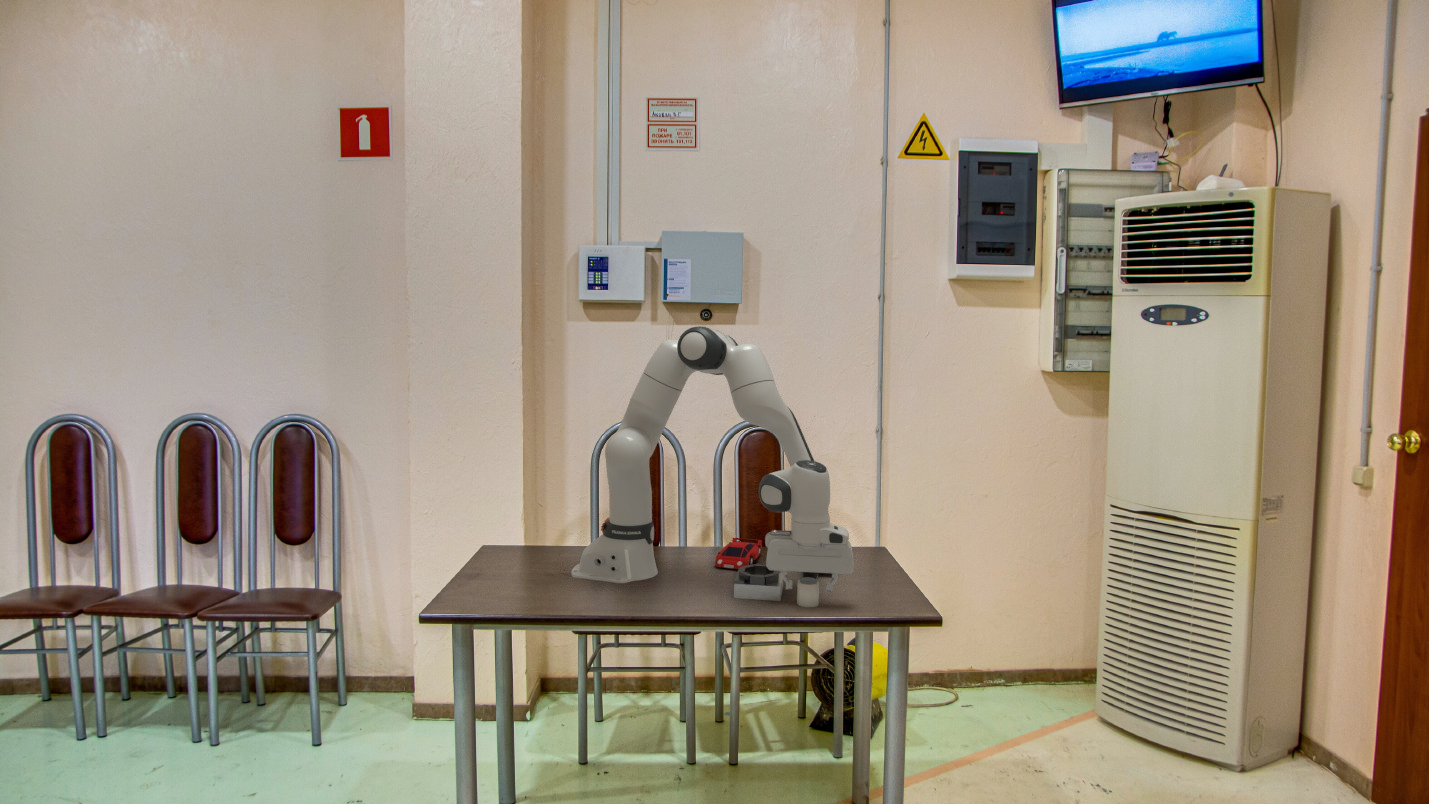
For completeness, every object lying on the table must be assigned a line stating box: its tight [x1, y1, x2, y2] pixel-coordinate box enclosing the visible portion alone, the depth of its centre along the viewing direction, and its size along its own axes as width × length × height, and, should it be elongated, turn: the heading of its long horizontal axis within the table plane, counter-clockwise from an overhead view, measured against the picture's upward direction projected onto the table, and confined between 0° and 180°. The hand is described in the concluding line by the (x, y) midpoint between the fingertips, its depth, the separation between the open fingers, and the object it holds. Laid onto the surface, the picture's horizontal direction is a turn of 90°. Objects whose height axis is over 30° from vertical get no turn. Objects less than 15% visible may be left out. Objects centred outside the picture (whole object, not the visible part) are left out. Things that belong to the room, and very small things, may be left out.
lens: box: [796, 577, 820, 608], centre depth 182 cm, size 5×5×6 cm
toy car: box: [714, 537, 763, 570], centre depth 218 cm, size 10×20×5 cm, turn 167°
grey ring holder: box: [733, 563, 784, 602], centre depth 190 cm, size 11×10×6 cm
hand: (809, 589), depth 182 cm, fingers open, 8 cm apart
